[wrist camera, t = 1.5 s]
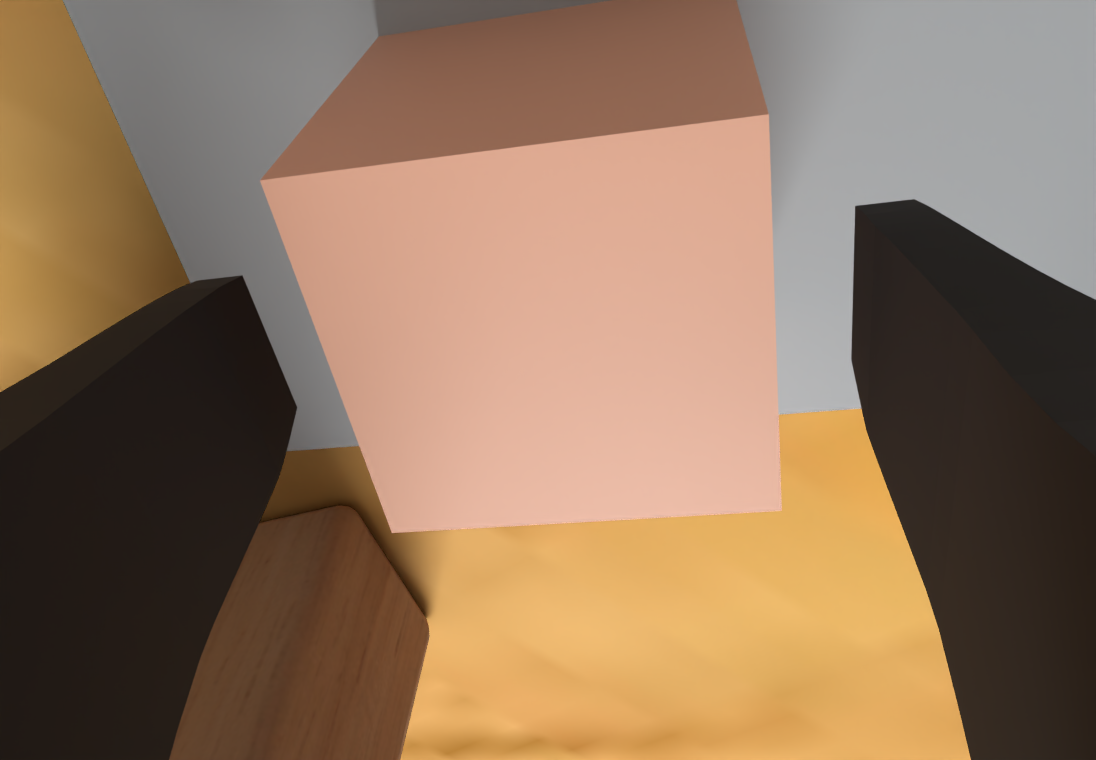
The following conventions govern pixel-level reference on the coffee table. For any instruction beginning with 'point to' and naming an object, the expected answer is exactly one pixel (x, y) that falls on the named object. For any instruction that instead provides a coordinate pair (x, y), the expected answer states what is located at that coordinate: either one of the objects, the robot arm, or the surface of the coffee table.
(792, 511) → the coffee table surface
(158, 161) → the arena board
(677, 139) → the terracotta cube
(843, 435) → the coffee table surface
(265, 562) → the wooden block
